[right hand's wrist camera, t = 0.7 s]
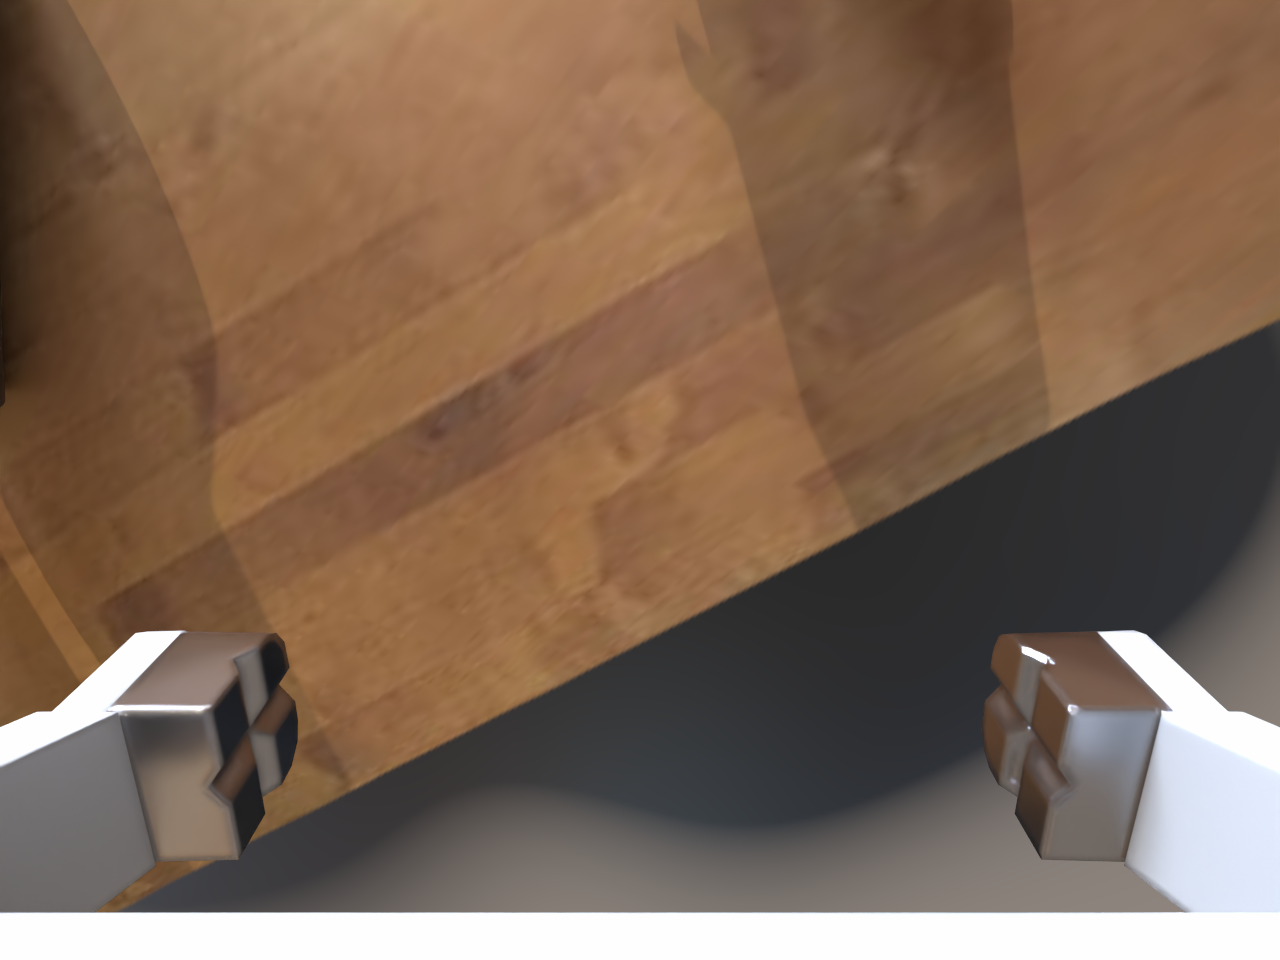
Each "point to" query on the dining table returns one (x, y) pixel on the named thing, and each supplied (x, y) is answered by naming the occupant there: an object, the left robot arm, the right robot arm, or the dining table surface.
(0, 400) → the rod
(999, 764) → the right robot arm
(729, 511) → the dining table surface
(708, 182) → the dining table surface
